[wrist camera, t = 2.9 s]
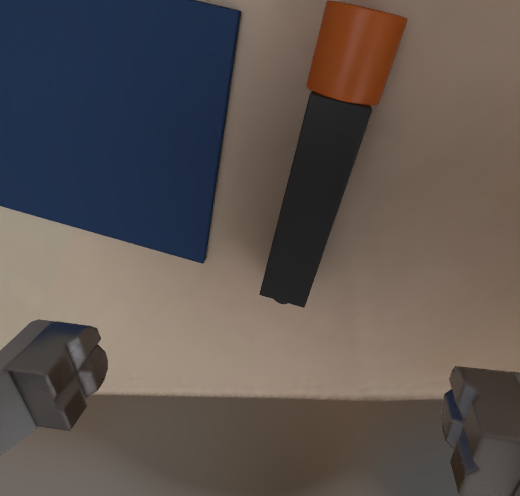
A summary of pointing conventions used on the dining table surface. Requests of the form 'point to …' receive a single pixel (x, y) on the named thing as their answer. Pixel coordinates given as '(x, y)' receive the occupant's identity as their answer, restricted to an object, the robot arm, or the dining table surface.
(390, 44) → the marker
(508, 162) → the dining table surface
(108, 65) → the mat
